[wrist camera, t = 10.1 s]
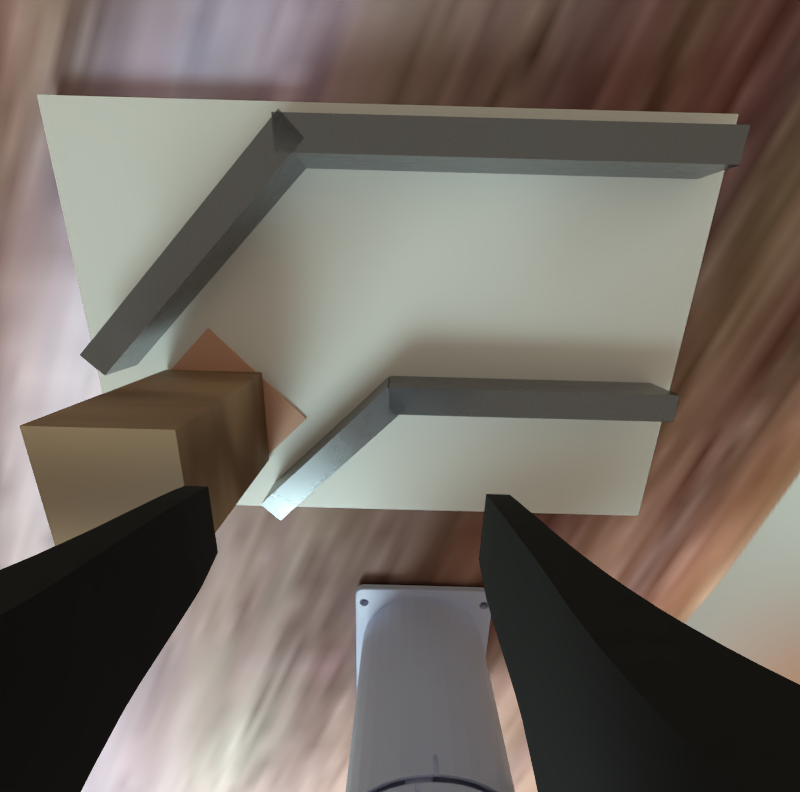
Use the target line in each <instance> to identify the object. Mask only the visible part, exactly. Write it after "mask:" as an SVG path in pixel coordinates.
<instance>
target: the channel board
mask: <svg viewBox="0 0 800 792" xmlns="http://www.w3.org/2000/svg"><path fill="white" fill-rule="evenodd" d="M37 97H38V102H39V106H40V111H41V115H42V120H43V125H44V129H45V134H46V138H47V143H48V147H49V152H50V156H51V161H52V166H53V170H54V175H55V179H56V184H57V188H58V193H59V197H60V202H61V206H62V211H63V216H64V220H65V225H66V229H67V234H68V238H69V243H70V247H71V252H72V256H73V261H74V266H75V270H76V275H77V279H78V284H79V288H80V293H81V297H82V302H83V307H84V311H85V316H86V320H87V325H88V329H89V334H90V338H91V341H92V339H93V338H94V337H95V336H96V334H97V333H98V332H99V331H100V329H101V328H102V327H103V326H104V324H105V323H106V322H107V321H108V319H109V318H110V317H111V316H112V314H113V313H114V312H115V311H116V309H117V308H118V307H119V306H120V305H121V303H122V302H123V301H124V300H125V298H126V297H127V296H128V295H129V293H130V292H131V291H132V290H133V288H134V287H135V286H136V285H137V283H138V282H139V281H140V280H141V278H142V277H143V276H144V275H145V273H146V272H147V271H148V270H149V268H150V267H151V266H152V265H153V263H154V262H155V261H156V260H157V259H158V257H159V256H160V255H161V254H162V252H163V251H164V250H165V249H166V247H167V246H168V245H169V244H170V242H171V241H172V240H173V239H174V237H175V236H176V235H177V234H178V232H179V231H180V230H181V229H182V227H183V226H184V225H185V224H186V222H187V221H188V220H189V219H190V217H191V216H192V215H193V214H194V213H195V211H196V210H197V209H198V208H199V206H200V205H201V204H202V203H203V201H204V200H205V199H206V198H207V196H208V195H209V194H210V193H211V191H212V190H213V189H214V188H215V186H216V185H217V184H218V183H219V181H220V180H221V179H222V178H223V176H224V175H225V174H226V173H227V171H228V170H229V169H230V168H231V167H232V165H233V164H234V163H235V162H236V160H237V159H238V158H239V157H240V155H241V154H242V153H243V152H244V150H245V149H246V148H247V147H248V145H249V144H250V143H251V142H252V140H253V139H254V138H255V137H256V135H257V134H258V133H259V132H260V130H261V129H262V128H263V127H264V125H265V124H266V123H267V122H268V121H269V119H270V118H271V117H272V115H271V112H276V111H277V109H279V110H280V111H281V112H300V113H336V114H373V115H409V116H446V117H482V118H518V119H555V120H591V121H628V122H664V123H701V124H736V123H737V119H738V115H739V114H721V113H685V112H649V111H612V110H576V109H539V108H503V107H467V106H430V105H394V104H357V103H321V102H284V101H248V100H212V99H175V98H139V97H102V96H66V95H37ZM724 171H725V170H723V171H720V172H717V173H714V174H711V175H708V176H705V177H702V178H699V179H674V178H638V177H601V176H565V175H528V174H492V173H455V172H419V171H382V170H346V169H309V168H306V169H305V170H304V171H303V173H302V174H301V175H300V176H299V177H298V178H297V180H296V181H295V182H294V183H293V184H292V185H291V187H290V188H289V189H288V190H287V191H286V192H285V194H284V195H283V196H282V197H281V198H280V199H279V201H278V202H277V203H276V204H275V205H274V206H273V208H272V209H271V210H270V211H269V212H268V213H267V215H266V216H265V217H264V218H263V219H262V220H261V222H260V223H259V224H258V225H257V226H256V227H255V229H254V230H253V231H252V232H251V233H250V234H249V235H248V237H247V238H246V239H245V240H244V241H243V242H242V244H241V245H240V246H239V247H238V248H237V249H236V251H235V252H234V253H233V254H232V255H231V256H230V258H229V259H228V260H227V261H226V262H225V263H224V265H223V266H222V267H221V268H220V269H219V270H218V272H217V273H216V274H215V275H214V276H213V277H212V279H211V280H210V281H209V282H208V283H207V284H206V286H205V287H204V288H203V289H202V290H201V291H200V293H199V294H198V295H197V296H196V297H195V298H194V300H193V301H192V302H191V303H190V304H189V305H188V307H187V308H186V309H185V310H184V311H183V312H182V314H181V315H180V316H179V317H178V318H177V319H176V320H175V322H174V323H173V324H172V325H171V326H170V327H169V329H168V330H167V331H166V332H165V333H164V334H163V336H162V337H161V338H160V339H159V340H158V341H157V343H156V344H155V345H154V346H153V347H152V348H151V350H150V351H149V352H148V353H147V354H146V355H145V357H144V358H143V359H142V360H141V361H140V362H139V364H138V365H136V366H133V367H130V368H127V369H124V370H121V371H117V372H114V373H111V374H108V375H104V374H102V373H101V372H100V371H99V370H98V375H99V379H100V384H101V388H102V393H103V394H104V393H106V392H109V391H112V390H114V389H117V388H119V387H122V386H125V385H127V384H130V383H132V382H135V381H138V380H140V379H143V378H145V377H148V376H151V375H153V374H156V373H158V372H161V371H164V370H193V371H232V372H262V380H263V391H264V403H265V414H266V426H267V437H268V448H269V461H268V462H267V463H266V465H265V466H264V467H263V469H262V470H261V471H260V473H259V474H258V476H257V477H256V478H255V480H254V481H253V482H252V484H251V485H250V486H249V488H248V489H247V490H246V492H245V493H244V494H243V496H242V497H241V499H240V500H239V501H238V503H237V504H236V505H255V506H262V505H261V503H262V502H263V500H264V499H265V497H266V496H267V494H268V492H269V491H270V489H271V488H272V486H273V484H274V483H275V482H276V481H277V480H278V479H279V478H280V477H281V476H282V475H283V474H284V473H285V472H286V471H287V470H289V469H290V468H291V467H292V466H293V465H294V464H295V463H296V462H297V461H298V460H299V459H300V458H302V457H303V456H304V455H305V454H306V453H307V452H308V451H309V450H310V449H311V448H312V447H313V446H314V445H316V444H317V443H318V442H319V441H320V440H321V439H322V438H323V437H324V436H325V435H326V434H327V433H328V432H330V431H331V430H332V429H333V428H334V427H335V426H336V425H337V424H338V423H339V422H340V421H341V420H343V419H344V418H345V417H346V416H347V415H348V414H349V413H350V412H351V411H352V410H353V409H354V408H355V407H357V406H358V405H359V404H360V403H361V402H362V401H363V400H364V399H365V398H366V397H367V396H368V395H369V394H371V393H372V392H373V391H374V390H375V389H376V388H377V387H378V386H379V385H380V384H381V383H382V382H384V381H385V380H386V379H387V378H388V377H391V376H419V377H455V378H492V379H529V380H566V381H603V382H640V383H652V384H654V385H656V386H659V387H661V388H664V389H666V390H668V391H669V390H670V386H671V382H672V378H673V374H674V370H675V366H676V362H677V358H678V354H679V351H680V347H681V343H682V339H683V335H684V331H685V327H686V323H687V319H688V315H689V311H690V307H691V303H692V299H693V295H694V291H695V287H696V283H697V279H698V275H699V271H700V267H701V263H702V259H703V255H704V251H705V247H706V243H707V239H708V235H709V231H710V227H711V223H712V219H713V215H714V211H715V207H716V203H717V199H718V195H719V191H720V187H721V183H722V179H723V175H724ZM660 426H661V422H651V421H614V420H577V419H540V418H503V417H466V416H429V415H398V416H397V417H396V418H395V419H394V420H393V421H392V422H391V423H389V424H388V425H387V426H386V427H385V428H384V429H383V430H382V431H380V432H379V433H378V434H377V435H376V436H375V437H374V438H373V439H371V440H370V441H369V442H368V443H367V444H366V445H365V446H364V447H362V448H361V449H360V450H359V451H358V452H357V453H356V454H355V455H353V456H352V457H351V458H350V459H349V460H348V461H347V462H346V463H344V464H343V465H342V466H341V467H340V468H339V469H338V470H337V471H335V472H334V473H333V474H332V475H331V476H330V477H329V478H328V479H326V480H325V481H324V482H323V483H322V484H321V485H320V486H319V487H317V488H316V489H315V490H314V491H313V492H312V493H311V494H310V495H308V496H307V497H306V498H305V499H304V500H303V501H302V502H301V503H299V504H298V505H297V506H296V507H330V508H367V509H404V510H441V511H478V512H484V509H485V500H486V494H506V495H511V496H512V497H513V498H515V499H516V500H517V501H518V502H519V503H521V504H522V505H523V506H524V507H525V508H526V509H528V510H529V511H530V512H531V513H552V514H590V515H627V516H638V514H639V510H640V506H641V502H642V498H643V494H644V490H645V486H646V482H647V478H648V474H649V470H650V466H651V462H652V458H653V454H654V450H655V446H656V442H657V438H658V434H659V430H660Z"/></svg>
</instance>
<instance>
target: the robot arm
mask: <svg viewBox="0 0 800 792" xmlns="http://www.w3.org/2000/svg"><path fill="white" fill-rule="evenodd" d="M217 553H218V551H217V544H216V537H215V530H214V523H213V516H212V509H211V502H210V495H209V488H208V486H183V487H180V488H178V489H175V490H173V491H170V492H168V493H166V494H164V495H162V496H159V497H157V498H155V499H153V500H151V501H149V502H147V503H145V504H143V505H141V506H139V507H137V508H135V509H133V510H130V511H128V512H126V513H124V514H122V515H120V516H118V517H116V518H114V519H112V520H110V521H108V522H106V523H104V524H102V525H100V526H98V527H96V528H94V529H91V530H89V531H87V532H85V533H83V534H81V535H78V536H76V537H74V538H72V539H70V540H68V541H65V542H63V543H61V544H59V545H57V546H54V547H52V548H50V549H48V550H46V551H44V552H41V553H39V554H37V555H35V556H32V557H30V558H28V559H25V560H23V561H21V562H18V563H16V564H13V565H11V566H9V567H6V568H4V569H1V570H0V792H81V790H82V788H83V786H84V784H85V782H86V780H87V778H88V776H89V774H90V772H91V770H92V768H93V766H94V765H95V763H96V761H97V759H98V757H99V755H100V753H101V752H102V750H103V748H104V746H105V744H106V742H107V740H108V738H109V737H110V735H111V733H112V731H113V729H114V727H115V725H116V724H117V722H118V720H119V718H120V716H121V714H122V712H123V711H124V709H125V707H126V705H127V704H128V702H129V701H130V699H131V697H132V696H133V694H134V692H135V691H136V689H137V687H138V686H139V684H140V682H141V681H142V679H143V678H144V676H145V675H146V673H147V672H148V670H149V668H150V667H151V665H152V664H153V662H154V661H155V659H156V658H157V656H158V655H159V653H160V652H161V650H162V648H163V647H164V645H165V644H166V642H167V641H168V639H169V638H170V636H171V635H172V633H173V631H174V630H175V628H176V627H177V625H178V624H179V622H180V621H181V619H182V617H183V616H184V614H185V613H186V611H187V610H188V608H189V606H190V605H191V603H192V602H193V600H194V599H195V597H196V595H197V594H198V592H199V590H200V589H201V587H202V585H203V582H204V580H205V578H206V576H207V574H208V572H209V570H210V568H211V566H212V564H213V562H214V559H215V557H216V555H217ZM479 562H480V568H481V573H482V579H483V585H484V587H450V586H413V585H376V584H362V585H360V586H358V587H357V590H356V673H357V695H356V704H355V713H354V722H353V731H352V740H351V749H350V758H349V767H348V776H347V785H346V792H515V790H514V785H513V781H512V776H511V772H510V767H509V762H508V758H507V753H506V749H505V744H504V739H503V735H502V730H501V726H500V721H499V716H498V712H497V707H496V703H495V698H494V694H493V689H492V684H491V680H490V675H489V671H488V666H487V661H486V651H487V643H488V635H489V627H490V619H491V616H492V620H493V623H494V626H495V630H496V633H497V636H498V639H499V643H500V646H501V649H502V652H503V655H504V659H505V662H506V665H507V668H508V672H509V675H510V678H511V681H512V685H513V688H514V691H515V694H516V698H517V702H518V705H519V709H520V713H521V717H522V720H523V725H524V730H525V734H526V739H527V743H528V748H529V752H530V757H531V762H532V766H533V771H534V775H535V780H536V785H537V790H538V792H800V685H799V684H797V683H795V682H793V681H791V680H789V679H787V678H785V677H783V676H781V675H779V674H777V673H775V672H773V671H771V670H769V669H767V668H765V667H763V666H761V665H758V664H757V663H755V662H753V661H751V660H749V659H747V658H745V657H744V656H742V655H740V654H738V653H736V652H734V651H732V650H730V649H728V648H727V647H725V646H723V645H721V644H719V643H717V642H716V641H714V640H712V639H711V638H709V637H707V636H705V635H704V634H702V633H700V632H698V631H696V630H695V629H693V628H691V627H689V626H688V625H686V624H684V623H682V622H681V621H679V620H677V619H676V618H674V617H672V616H671V615H669V614H667V613H666V612H664V611H662V610H661V609H659V608H658V607H656V606H654V605H653V604H651V603H650V602H648V601H647V600H645V599H644V598H642V597H641V596H639V595H638V594H636V593H635V592H633V591H631V590H630V589H628V588H627V587H625V586H624V585H622V584H621V583H620V582H618V581H617V580H615V579H614V578H612V577H611V576H609V575H608V574H607V573H605V572H604V571H603V570H601V569H600V568H599V567H597V566H596V565H595V564H593V563H592V562H591V561H589V560H588V559H587V558H585V557H584V556H583V555H581V554H580V553H579V552H578V551H576V550H575V549H574V548H573V547H571V546H570V545H569V544H568V543H566V542H565V541H564V540H563V539H561V538H560V537H559V536H558V535H557V534H555V533H554V532H553V531H552V530H551V529H550V528H548V527H547V526H546V525H545V524H544V523H543V522H541V521H540V520H539V519H538V518H537V517H536V516H534V515H533V514H532V513H531V512H530V511H529V510H528V509H526V508H525V507H524V506H523V505H522V504H521V503H519V502H518V501H517V500H516V499H515V498H513V497H512V496H511V495H506V494H486V500H485V509H484V518H483V528H482V537H481V546H480V556H479ZM362 599H366V601H364V600H362ZM483 602H486V603H484V604H481V603H483Z"/></svg>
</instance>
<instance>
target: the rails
mask: <svg viewBox="0 0 800 792" xmlns="http://www.w3.org/2000/svg"><path fill="white" fill-rule="evenodd" d="M271 115H272V117H271V118H270V119H269V121H268V122H267V123H266V124H265V125H264V127H263V128H262V129H261V130H260V132H259V133H258V134H257V135H256V137H255V138H254V139H253V140H252V142H251V143H250V144H249V145H248V147H247V148H246V149H245V150H244V152H243V153H242V154H241V155H240V157H239V158H238V159H237V160H236V162H235V163H234V164H233V165H232V167H231V168H230V169H229V170H228V171H227V173H226V174H225V175H224V176H223V178H222V179H221V180H220V181H219V183H218V184H217V185H216V186H215V188H214V189H213V190H212V191H211V193H210V194H209V195H208V196H207V198H206V199H205V200H204V201H203V203H202V204H201V205H200V206H199V208H198V209H197V210H196V211H195V213H194V214H193V215H192V216H191V217H190V219H189V220H188V221H187V222H186V224H185V225H184V226H183V227H182V229H181V230H180V231H179V232H178V234H177V235H176V236H175V237H174V239H173V240H172V241H171V242H170V244H169V245H168V246H167V247H166V249H165V250H164V251H163V252H162V254H161V255H160V256H159V257H158V259H157V260H156V261H155V262H154V263H153V265H152V266H151V267H150V268H149V270H148V271H147V272H146V273H145V275H144V276H143V277H142V278H141V280H140V281H139V282H138V283H137V285H136V286H135V287H134V288H133V290H132V291H131V292H130V293H129V295H128V296H127V297H126V298H125V300H124V301H123V302H122V303H121V305H120V306H119V307H118V308H117V309H116V311H115V312H114V313H113V314H112V316H111V317H110V318H109V319H108V321H107V322H106V323H105V324H104V326H103V327H102V328H101V329H100V331H99V332H98V333H97V334H96V336H95V337H94V338H93V339H92V341H91V342H90V343H89V344H88V346H87V347H86V348H85V349H84V351H83V352H82V353H81V354H80V355H81V356H82V357H83V358H84V359H85V360H87V361H88V362H89V363H90V364H91V365H93V366H94V367H95V368H96V369H97V370H99V371H100V372H101V373H102V374H104V375H108V374H111V373H114V372H117V371H121V370H124V369H127V368H130V367H133V366H136V365H138V364H139V362H140V361H141V360H142V359H143V358H144V357H145V355H146V354H147V353H148V352H149V351H150V350H151V348H152V347H153V346H154V345H155V344H156V343H157V341H158V340H159V339H160V338H161V337H162V336H163V334H164V333H165V332H166V331H167V330H168V329H169V327H170V326H171V325H172V324H173V323H174V322H175V320H176V319H177V318H178V317H179V316H180V315H181V314H182V312H183V311H184V310H185V309H186V308H187V307H188V305H189V304H190V303H191V302H192V301H193V300H194V298H195V297H196V296H197V295H198V294H199V293H200V291H201V290H202V289H203V288H204V287H205V286H206V284H207V283H208V282H209V281H210V280H211V279H212V277H213V276H214V275H215V274H216V273H217V272H218V270H219V269H220V268H221V267H222V266H223V265H224V263H225V262H226V261H227V260H228V259H229V258H230V256H231V255H232V254H233V253H234V252H235V251H236V249H237V248H238V247H239V246H240V245H241V244H242V242H243V241H244V240H245V239H246V238H247V237H248V235H249V234H250V233H251V232H252V231H253V230H254V229H255V227H256V226H257V225H258V224H259V223H260V222H261V220H262V219H263V218H264V217H265V216H266V215H267V213H268V212H269V211H270V210H271V209H272V208H273V206H274V205H275V204H276V203H277V202H278V201H279V199H280V198H281V197H282V196H283V195H284V194H285V192H286V191H287V190H288V189H289V188H290V187H291V185H292V184H293V183H294V182H295V181H296V180H297V178H298V177H299V176H300V175H301V174H302V173H303V171H304V170H305V169H306V168H309V169H346V170H382V171H419V172H455V173H492V174H528V175H565V176H601V177H638V178H674V179H699V178H702V177H705V176H708V175H711V174H714V173H717V172H720V171H723V170H726V169H729V168H732V167H735V166H738V165H740V163H741V159H742V155H743V151H744V147H745V143H746V140H747V136H748V132H749V128H750V125H737V124H701V123H664V122H628V121H591V120H555V119H518V118H482V117H446V116H409V115H373V114H336V113H300V112H281V111H280V110H279V109H277V111H276V112H271ZM679 397H680V395H678V394H675V393H673V392H671V391H668V390H666V389H664V388H661V387H659V386H656V385H654V384H652V383H640V382H603V381H566V380H529V379H492V378H455V377H419V376H391V377H388V378H387V379H386V380H385V381H384V382H382V383H381V384H380V385H379V386H378V387H377V388H376V389H375V390H374V391H373V392H372V393H371V394H369V395H368V396H367V397H366V398H365V399H364V400H363V401H362V402H361V403H360V404H359V405H358V406H357V407H355V408H354V409H353V410H352V411H351V412H350V413H349V414H348V415H347V416H346V417H345V418H344V419H343V420H341V421H340V422H339V423H338V424H337V425H336V426H335V427H334V428H333V429H332V430H331V431H330V432H328V433H327V434H326V435H325V436H324V437H323V438H322V439H321V440H320V441H319V442H318V443H317V444H316V445H314V446H313V447H312V448H311V449H310V450H309V451H308V452H307V453H306V454H305V455H304V456H303V457H302V458H300V459H299V460H298V461H297V462H296V463H295V464H294V465H293V466H292V467H291V468H290V469H289V470H287V471H286V472H285V473H284V474H283V475H282V476H281V477H280V478H279V479H278V480H277V481H276V482H275V483H274V484H273V486H272V488H271V489H270V491H269V492H268V494H267V496H266V497H265V499H264V500H263V502H262V503H261V505H262V506H263V507H265V508H266V509H267V510H268V511H270V512H271V513H272V514H273V515H274V516H276V517H277V518H278V519H279V520H282V519H283V518H284V517H285V516H286V515H287V514H288V513H289V512H291V511H292V510H293V509H294V508H295V507H296V506H297V505H298V504H299V503H301V502H302V501H303V500H304V499H305V498H306V497H307V496H308V495H310V494H311V493H312V492H313V491H314V490H315V489H316V488H317V487H319V486H320V485H321V484H322V483H323V482H324V481H325V480H326V479H328V478H329V477H330V476H331V475H332V474H333V473H334V472H335V471H337V470H338V469H339V468H340V467H341V466H342V465H343V464H344V463H346V462H347V461H348V460H349V459H350V458H351V457H352V456H353V455H355V454H356V453H357V452H358V451H359V450H360V449H361V448H362V447H364V446H365V445H366V444H367V443H368V442H369V441H370V440H371V439H373V438H374V437H375V436H376V435H377V434H378V433H379V432H380V431H382V430H383V429H384V428H385V427H386V426H387V425H388V424H389V423H391V422H392V421H393V420H394V419H395V418H396V417H397V416H398V415H429V416H466V417H503V418H540V419H577V420H614V421H651V422H673V420H674V416H675V413H676V409H677V405H678V401H679Z"/></svg>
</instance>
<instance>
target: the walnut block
mask: <svg viewBox="0 0 800 792" xmlns="http://www.w3.org/2000/svg"><path fill="white" fill-rule="evenodd" d="M20 429H21V432H22V436H23V439H24V442H25V446H26V449H27V452H28V456H29V459H30V463H31V466H32V469H33V473H34V476H35V479H36V483H37V486H38V489H39V493H40V496H41V499H42V503H43V506H44V510H45V513H46V516H47V520H48V523H49V526H50V530H51V533H52V536H53V540H54V543H55V546H57V545H59V544H61V543H63V542H65V541H68V540H70V539H72V538H74V537H76V536H78V535H81V534H83V533H85V532H87V531H89V530H91V529H94V528H96V527H98V526H100V525H102V524H104V523H106V522H108V521H110V520H112V519H114V518H116V517H118V516H120V515H122V514H124V513H126V512H128V511H130V510H133V509H135V508H137V507H139V506H141V505H143V504H145V503H147V502H149V501H151V500H153V499H155V498H157V497H159V496H162V495H164V494H166V493H168V492H170V491H173V490H175V489H178V488H180V487H183V486H208V488H209V495H210V502H211V509H212V516H213V523H214V530H215V532H216V531H217V530H218V528H219V527H220V526H221V524H222V523H223V522H224V520H225V519H226V517H227V516H228V515H229V513H230V512H231V511H232V509H233V508H234V507H235V505H236V504H237V503H238V501H239V500H240V499H241V497H242V496H243V494H244V493H245V492H246V490H247V489H248V488H249V486H250V485H251V484H252V482H253V481H254V480H255V478H256V477H257V476H258V474H259V473H260V471H261V470H262V469H263V467H264V466H265V465H266V463H267V462H268V461H269V448H268V437H267V426H266V414H265V403H264V391H263V380H262V372H232V371H193V370H164V371H161V372H158V373H156V374H153V375H151V376H148V377H145V378H143V379H140V380H138V381H135V382H132V383H130V384H127V385H125V386H122V387H119V388H117V389H114V390H112V391H109V392H106V393H104V394H101V395H99V396H96V397H93V398H91V399H88V400H86V401H83V402H80V403H78V404H75V405H72V406H70V407H67V408H65V409H62V410H59V411H57V412H54V413H52V414H49V415H46V416H44V417H41V418H39V419H36V420H33V421H31V422H28V423H26V424H23V425H20Z"/></svg>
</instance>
